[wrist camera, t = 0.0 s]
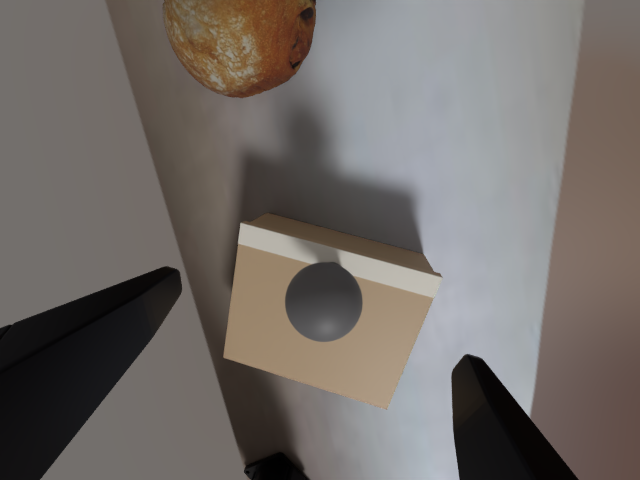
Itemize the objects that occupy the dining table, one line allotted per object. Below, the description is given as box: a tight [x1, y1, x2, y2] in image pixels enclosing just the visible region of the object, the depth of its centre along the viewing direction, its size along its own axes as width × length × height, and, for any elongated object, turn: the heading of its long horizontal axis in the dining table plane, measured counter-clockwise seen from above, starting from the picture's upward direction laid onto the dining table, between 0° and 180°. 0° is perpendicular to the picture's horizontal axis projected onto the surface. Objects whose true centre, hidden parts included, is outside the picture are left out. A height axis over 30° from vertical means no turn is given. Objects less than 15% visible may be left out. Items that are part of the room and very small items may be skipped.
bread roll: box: [163, 0, 316, 98], centre depth 18 cm, size 10×10×8 cm
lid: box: [223, 221, 443, 410], centre depth 18 cm, size 13×14×7 cm
